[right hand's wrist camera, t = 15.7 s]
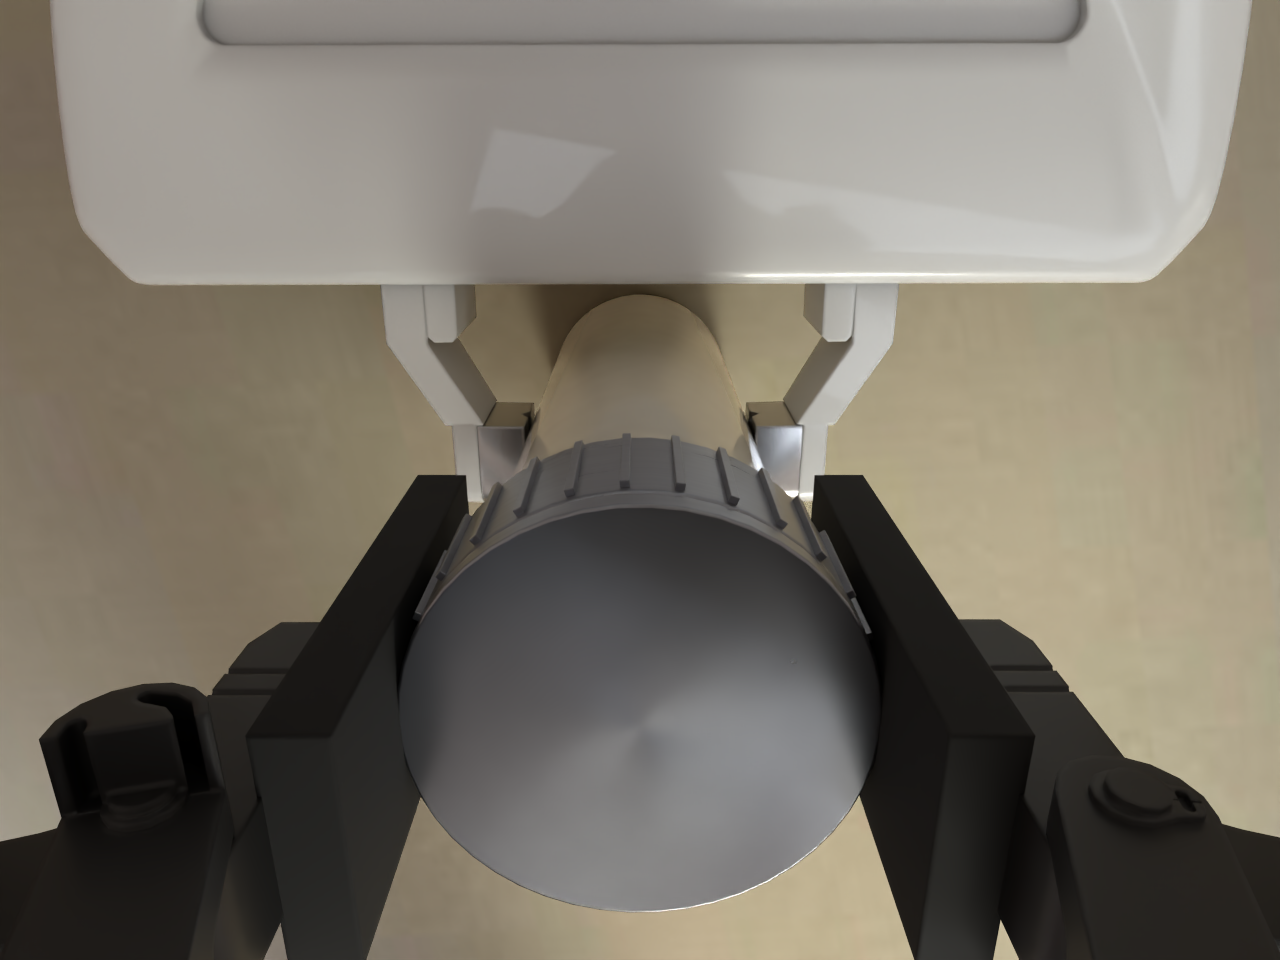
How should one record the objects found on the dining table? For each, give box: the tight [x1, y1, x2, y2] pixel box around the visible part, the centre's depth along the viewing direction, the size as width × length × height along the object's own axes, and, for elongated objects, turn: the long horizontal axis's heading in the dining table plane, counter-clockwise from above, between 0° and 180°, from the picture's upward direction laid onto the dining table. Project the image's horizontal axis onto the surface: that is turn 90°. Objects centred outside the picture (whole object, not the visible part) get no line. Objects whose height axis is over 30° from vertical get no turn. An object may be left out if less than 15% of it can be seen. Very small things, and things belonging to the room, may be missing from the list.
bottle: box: [512, 295, 765, 477], centre depth 18 cm, size 5×5×15 cm
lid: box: [397, 433, 882, 912], centre depth 11 cm, size 6×6×2 cm
